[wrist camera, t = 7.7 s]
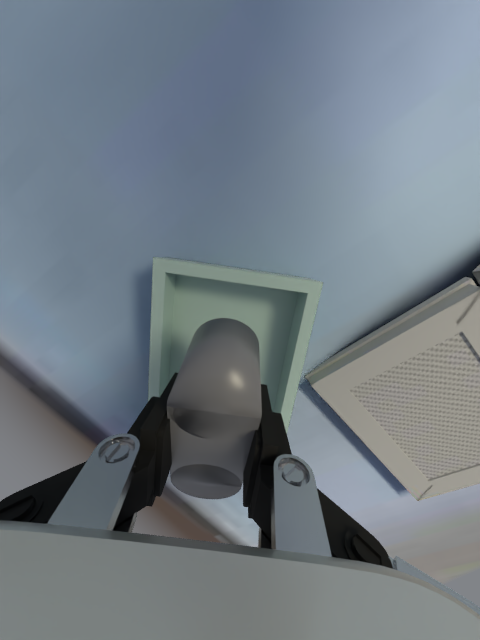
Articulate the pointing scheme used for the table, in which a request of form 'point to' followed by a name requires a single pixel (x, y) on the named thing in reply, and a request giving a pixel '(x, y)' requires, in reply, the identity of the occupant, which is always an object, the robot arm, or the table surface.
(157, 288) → the tray
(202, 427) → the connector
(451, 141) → the table surface
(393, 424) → the gadget
